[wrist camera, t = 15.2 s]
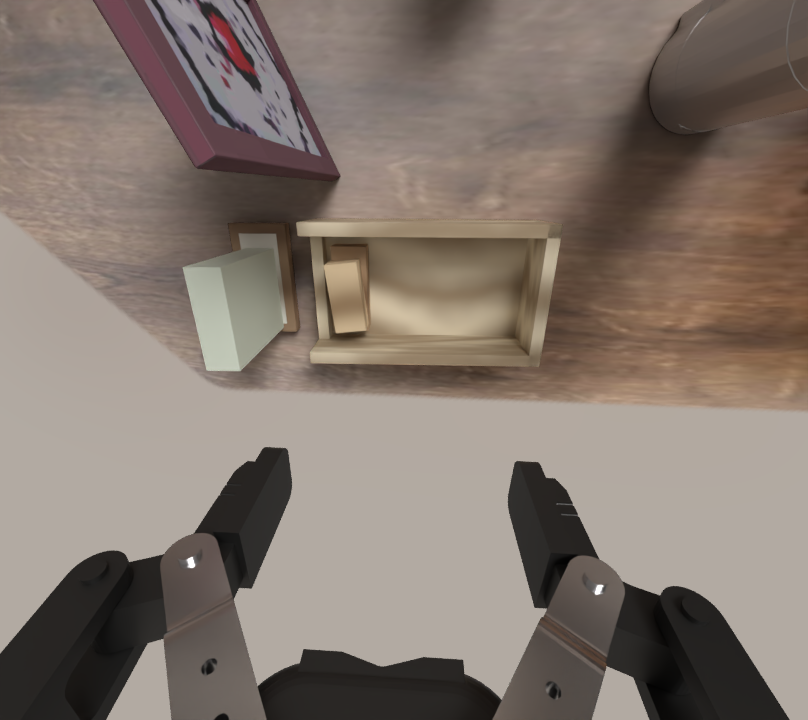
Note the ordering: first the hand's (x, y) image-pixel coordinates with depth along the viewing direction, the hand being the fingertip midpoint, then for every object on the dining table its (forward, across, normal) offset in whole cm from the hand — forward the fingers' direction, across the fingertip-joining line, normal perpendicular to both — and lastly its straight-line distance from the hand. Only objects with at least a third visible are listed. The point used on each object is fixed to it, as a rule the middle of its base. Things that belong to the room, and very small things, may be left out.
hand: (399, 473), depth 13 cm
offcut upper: (+28, +7, +1) cm, 29 cm away
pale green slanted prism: (+30, +17, +2) cm, 35 cm away
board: (+32, +17, +1) cm, 36 cm away
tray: (+32, -1, +1) cm, 32 cm away
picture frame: (+33, +16, -15) cm, 39 cm away
